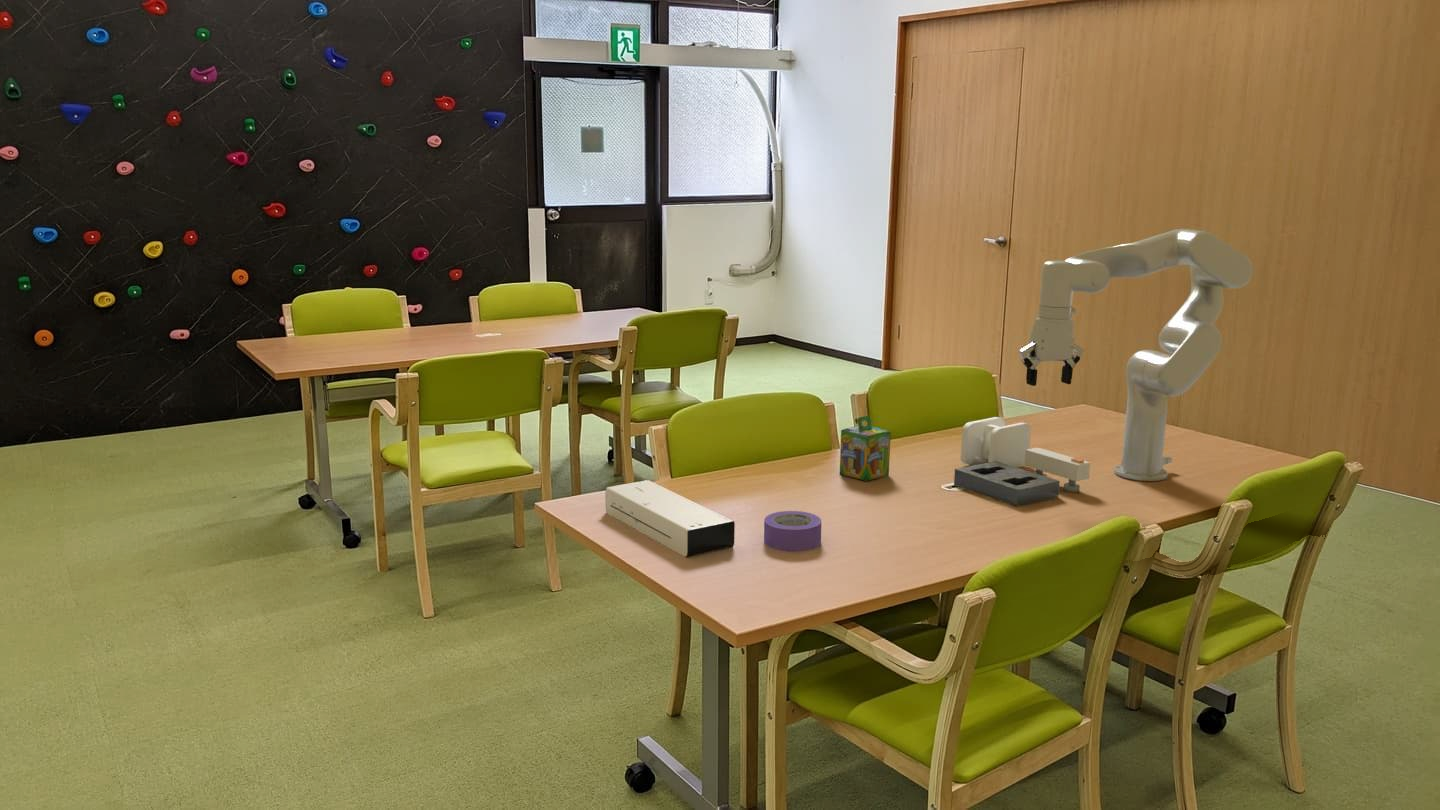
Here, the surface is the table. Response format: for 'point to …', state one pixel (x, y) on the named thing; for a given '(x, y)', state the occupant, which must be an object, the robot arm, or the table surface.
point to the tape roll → (792, 531)
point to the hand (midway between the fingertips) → (1048, 383)
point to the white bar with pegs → (1058, 466)
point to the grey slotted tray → (1006, 483)
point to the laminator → (670, 518)
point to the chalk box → (865, 451)
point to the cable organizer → (995, 442)
